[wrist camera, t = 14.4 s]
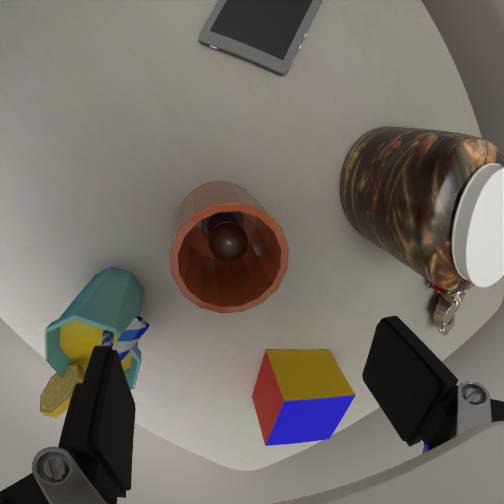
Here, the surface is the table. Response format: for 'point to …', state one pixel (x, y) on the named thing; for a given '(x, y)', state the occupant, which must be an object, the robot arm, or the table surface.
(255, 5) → the smartphone
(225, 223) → the pawn
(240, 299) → the terracotta cup
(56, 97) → the table surface
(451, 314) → the ornament
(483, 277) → the jar
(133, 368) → the cup
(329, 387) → the cube
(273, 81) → the table surface
